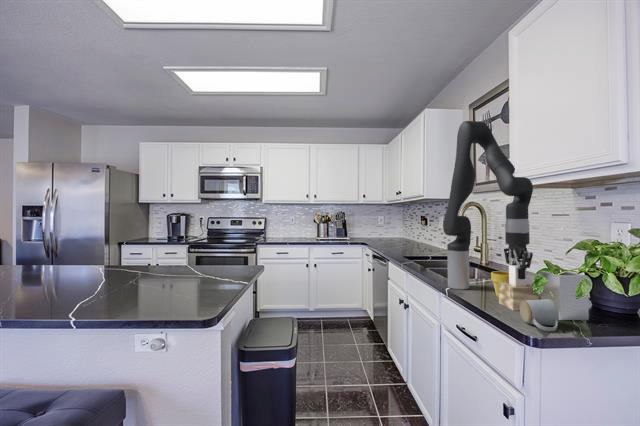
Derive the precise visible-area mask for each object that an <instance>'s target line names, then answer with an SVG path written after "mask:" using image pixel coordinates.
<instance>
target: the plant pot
mask: <svg viewBox="0 0 640 426" xmlns="http://www.w3.org/2000/svg"><path fill="white" fill-rule="evenodd" d="M490 278H491V281H492V283H493V288H494V291H495V296H496V297H497V298H499V282H509V271H502V270H498V271H497V270H496V271H491V272H490Z"/></svg>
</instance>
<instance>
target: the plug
mask: <svg viewBox="0 0 640 426" xmlns="http://www.w3.org/2000/svg"><path fill="white" fill-rule="evenodd" d="M527 269H528V268H526V269H525V279H518V265H509V264H508V272H509V285H512V286H514V287H527V284H528V281H527V278H528V277H527V276H528V271H527Z"/></svg>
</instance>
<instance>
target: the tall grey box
mask: <svg viewBox="0 0 640 426" xmlns="http://www.w3.org/2000/svg"><path fill="white" fill-rule="evenodd" d="M547 271H548V270H544V271H543V270H542V271H539V272H540V275H542V276H544V277H545V278H546V279H547V280H548V282H547V283H546V284H545V289H544V291H543V292H542V293H541V292H540V300H543V299H550V300H552V301H553V302H554V304H555V305H556V307H557V310H558V313H559V321H581V320H582V321H585V320H586V321H588V320H589V318H590V317H589V295H588V296H586V297H583V298H580V299H576V298H578V297H575V295H577V293H576V291H575V290H576V288H577V286H578V284H580V282H581V281H582V280H584V279H588V280H589V276H588V275H584V274H581V273H576V272H572V271H568V272H566V273H564V274H563V275H558V274H554V273H550V272H547ZM550 291H551V292H552V294H553V297H552V296H551V294H550Z"/></svg>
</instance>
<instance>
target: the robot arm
mask: <svg viewBox="0 0 640 426" xmlns="http://www.w3.org/2000/svg"><path fill="white" fill-rule="evenodd" d="M472 144H475V145H476V144H478V145H479V146H480V147H481V148H482V149H483V151H484V152H485V162H486V165H487V167H488V168H489V170H490V171H491V172H492V174H493V175H494V176H495V179H496V182H497V185H498V187H499V190H500V191H501V192H502V193H503V194H504V195H506V196H508V197H513V199H512V202H509V203H508V204H506V205H505V206H506V207H505V225H504V228H505V229H504V230H505V231H504V233H505V242H504V243H505V244H507V245H508V247H507V248H506V247H505V248H503V253H504V258H505V263H506V264H508V266H509V265H518V279H525V269H526V268H527V269H529V268H531V264H532V260H533V259H532V258H533V254H534V252H529V251H528V248H527V245H529V244H530V242H531V241H530V223H529V222H530V221H529V206H530V203H531V199H532V196H533V192H534V186H533V182H532V181H531V179H529V178H528V177H524V176H515V175H514V174H515V172H516V168H515V165H514V164H513V163H512V162H511V160H509V158H508V157H507V156H506V155H505V153H504V152H503V151H502V149H501V147H500V146H499V144H498V142H497V140H496V138H495V136H494V135H493V132H492V130H491V128H490V127H489V126H488V124H487V123H486V122H485V121H477V120H476V121H475V120H466V121H463V122H462V123H461V124H460V125H459V127H458V130H457V136H456V153H455V161H454V168H453V174H452V179H451V185H450V193H449V196H448V197H449V198H448V202H447V207H446V209H445V215H444V219H443V222H442V223H443V224H442V230H443V233H444V234H445V236H449V237H451V236H452V237H455V236H456V237H455V239H454V240H453V241H451V242H449V243H447V247H446V248H447V250H446V251H447V252H446V253H447V257H446V258H447V287H448V288H451V289H455V290H468V289H470V251H469V250H470V246H471V238H472V237H471V236H472V235H471V234H472V224H471V220H470V218H469V217H468V216H465V215H459V212H460V210H461V208H462V206H463V204H464V203H465V201H466V200H467V199H468V198H469V196H470V195H471V194H472V193H473V191H474V187H475V182H476V175H477V174H476V169H475V166H474V165H473V162H472V158H471V150H472V149H471V148H472Z"/></svg>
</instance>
